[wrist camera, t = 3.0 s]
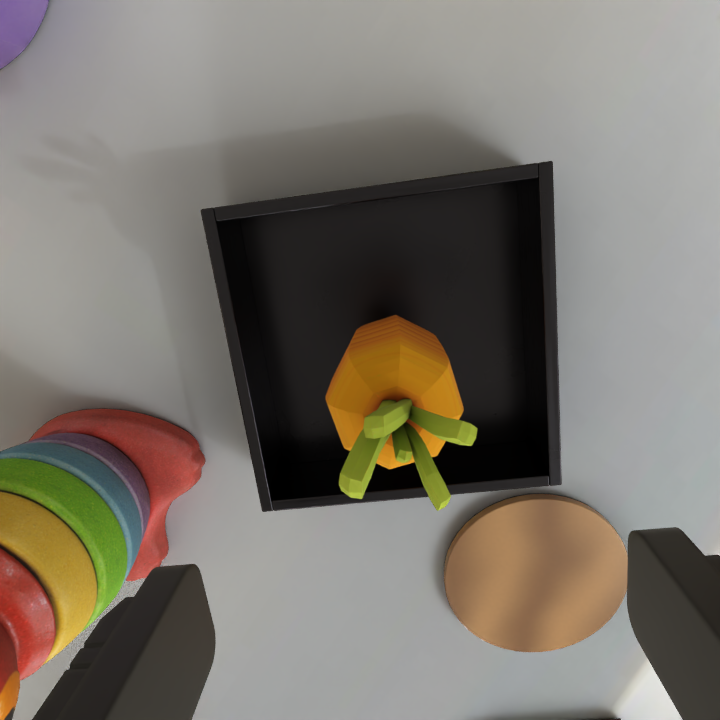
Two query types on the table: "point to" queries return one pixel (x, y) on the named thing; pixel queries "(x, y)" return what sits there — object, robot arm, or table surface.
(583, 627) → the disc
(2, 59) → the tape roll
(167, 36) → the table surface
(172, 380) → the table surface
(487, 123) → the table surface
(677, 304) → the table surface
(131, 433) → the stacking bear
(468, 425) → the carrot
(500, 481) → the tray
